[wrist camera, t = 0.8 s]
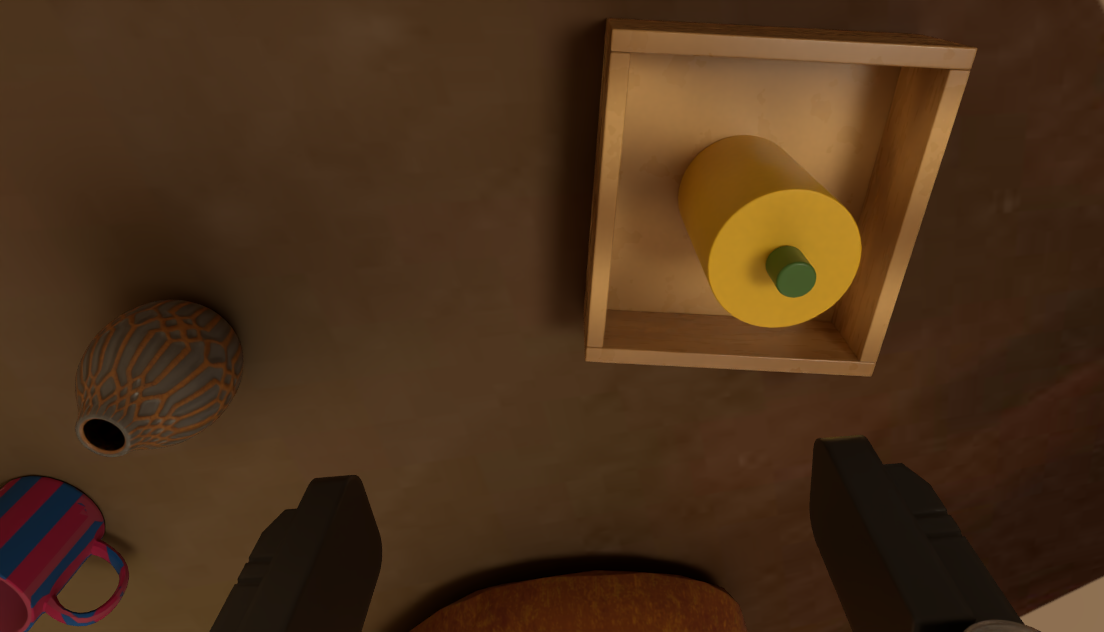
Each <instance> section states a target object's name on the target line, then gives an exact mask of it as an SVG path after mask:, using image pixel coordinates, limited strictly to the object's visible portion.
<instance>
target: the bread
mask: <svg viewBox="0 0 1104 632" xmlns="http://www.w3.org/2000/svg"><path fill="white" fill-rule="evenodd" d="M409 632H747V628H746V625H745V622H744V618H743V615H742V612H741V609H740V606H739V604H738V603H737V602H736V601H735V600H734V599H733V598H732V596H731V595H730V594H729V593H728V592H727V591H726V590H725V589H724V588H721V587H718V586H715V585H712V584H709V583H705V582H702V581H698V580H695V579H691V578H688V577H684V576H680V575H672V574H659V573H645V572H628V571H605V570H595V571H588V572H581V573H574V574H567V575H560V576H553V577H546V578H539V579H533V580H526V581H519V582H513V583H506V584H501V585H497V586H493V587H489V588H485V589H481V590H478V591H476V592H474V593H472V594H470V595H468V596H466V597H464V598H462V599H460V600H458V601H456V602H454V603H452V604H450V605H448V606H446V607H444V608H442V609H440V610H439V611H437V612H436V613H435V614H433V615H432V616H430V617H429V618H428V619H426V620H425V621H423V622H422V623H420V624H419V625H418V626H416V627H415V628H413V629H412V630H411V631H409Z"/></svg>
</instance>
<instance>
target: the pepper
mask: <svg viewBox="0 0 1104 632" xmlns="http://www.w3.org/2000/svg"><path fill="white" fill-rule="evenodd" d="M678 206H679V211H680V215H681V217H682V220H683V223H684V225H685V227H686V230H687V232H688V235H689V237H690V239H691V242H692V244H693V247H694V249H695V252H696V254H697V256H698V259H699V261H700V264H701V266H702V268H703V271H704V273H705V276H706V278H707V281H708V283H709V285H710V288H711V290H712V292H713V294H714V296H715V298H716V300H717V301H718V302H719V304H720V305H721V306H722V307H723V308H724V309H725V310H726V311H727V312H728V313H730V314H731V315H732V316H734V317H735V318H737V319H739V320H741V321H743V322H746V323H748V324H751V325H756V326H760V327H769V328H775V327H787V326H792V325H796V324H800V323H803V322H805V321H808V320H810V319H812V318H814V317H816V316H818V315H820V314H821V313H823V312H825V311H826V310H827V309H829V308H830V307H831V306H833V305H834V304H835V303H836V302H837V301H838V300H839V299H840V298H841V297H842V296H843V294H844V293H845V292H846V291H847V289H848V288H849V286H850V285H851V283H852V281H853V279H854V277H855V275H856V273H857V270H858V267H859V263H860V259H861V249H862V246H861V237H860V233H859V229H858V226H857V224H856V222H855V220H854V218H853V217H852V215H851V214H850V212H849V211H848V210H847V209H846V208H845V207H844V206H843V205H842V204H841V203H840V202H839V201H838V200H837V199H836V198H835V197H834V196H833V195H831V194H830V193H829V192H828V191H827V190H826V189H825V188H824V187H823V186H822V185H821V184H820V183H819V182H817V181H816V180H815V179H814V178H813V177H812V176H811V175H810V174H809V173H808V172H807V171H806V170H805V169H804V168H802V167H801V166H800V165H799V164H798V163H797V162H796V161H795V160H794V159H793V158H792V157H791V156H790V155H788V154H787V153H786V152H785V151H784V150H783V149H782V148H781V147H779V146H778V145H777V144H775V143H774V142H772V141H770V140H767V139H765V138H762V137H758V136H752V135H739V136H732V137H728V138H725V139H722V140H720V141H717V142H715V143H713V144H712V145H710V146H708V147H707V148H705V149H704V150H703V151H702V152H700V153H699V154H698V155H697V156H696V157H695V158H694V160H693V161H692V162H691V163H690V165H689V166H688V168H687V169H686V171H685V173H684V175H683V177H682V180H681V183H680V187H679V193H678Z"/></svg>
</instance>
